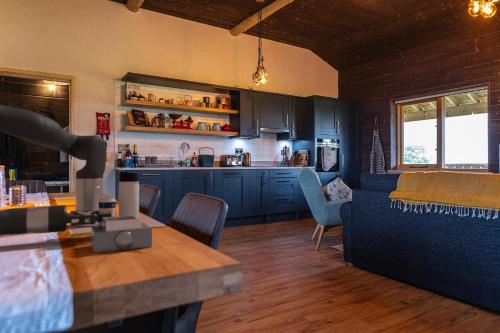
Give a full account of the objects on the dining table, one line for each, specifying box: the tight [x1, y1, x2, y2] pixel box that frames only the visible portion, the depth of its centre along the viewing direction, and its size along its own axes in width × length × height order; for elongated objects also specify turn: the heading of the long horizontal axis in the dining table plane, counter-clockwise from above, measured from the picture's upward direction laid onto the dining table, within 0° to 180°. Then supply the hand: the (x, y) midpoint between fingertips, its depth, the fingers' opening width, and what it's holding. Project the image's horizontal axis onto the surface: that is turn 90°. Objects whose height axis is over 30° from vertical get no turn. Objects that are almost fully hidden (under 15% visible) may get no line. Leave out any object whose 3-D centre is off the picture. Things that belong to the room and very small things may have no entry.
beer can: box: [98, 196, 117, 226], centre depth 101 cm, size 5×5×12 cm
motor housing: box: [90, 215, 153, 254], centre depth 90 cm, size 11×14×8 cm
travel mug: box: [118, 171, 140, 218], centre depth 110 cm, size 6×7×20 cm
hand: (109, 215), depth 102 cm, fingers open, 8 cm apart
